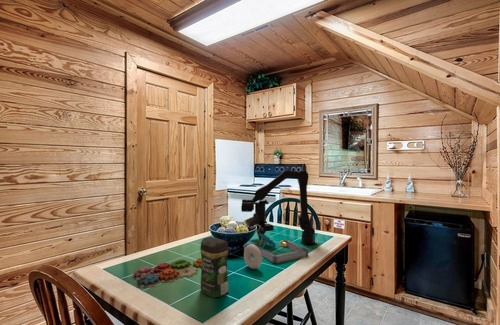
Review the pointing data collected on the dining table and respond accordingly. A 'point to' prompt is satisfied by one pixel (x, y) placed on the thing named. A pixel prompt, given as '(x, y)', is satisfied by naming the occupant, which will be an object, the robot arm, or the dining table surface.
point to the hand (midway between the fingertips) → (260, 240)
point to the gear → (266, 240)
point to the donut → (256, 253)
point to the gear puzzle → (166, 272)
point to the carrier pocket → (298, 253)
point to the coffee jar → (214, 267)
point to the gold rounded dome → (284, 243)
